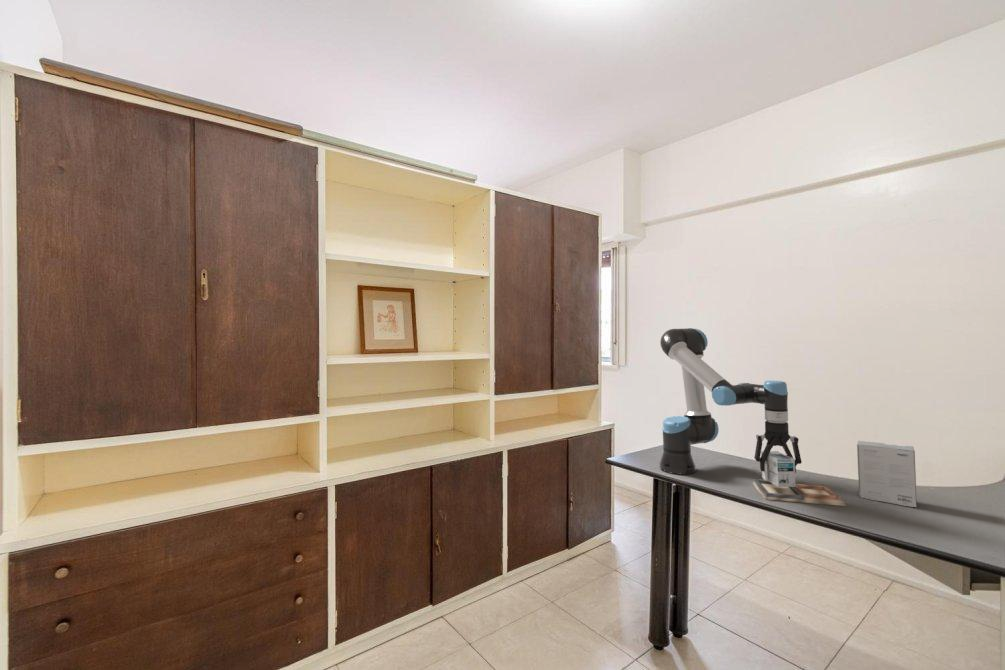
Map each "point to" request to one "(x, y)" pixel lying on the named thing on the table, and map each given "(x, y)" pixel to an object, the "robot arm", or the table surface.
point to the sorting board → (798, 493)
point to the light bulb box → (780, 469)
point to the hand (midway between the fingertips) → (778, 480)
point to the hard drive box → (887, 473)
